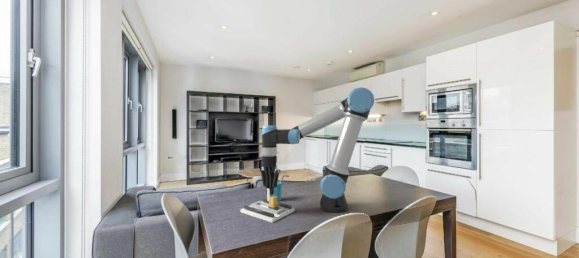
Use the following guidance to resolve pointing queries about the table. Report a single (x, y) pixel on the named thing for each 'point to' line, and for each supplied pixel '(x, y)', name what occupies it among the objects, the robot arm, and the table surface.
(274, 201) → the lever
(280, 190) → the cup
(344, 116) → the robot arm
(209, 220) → the table surface
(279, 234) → the table surface
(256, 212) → the panel
